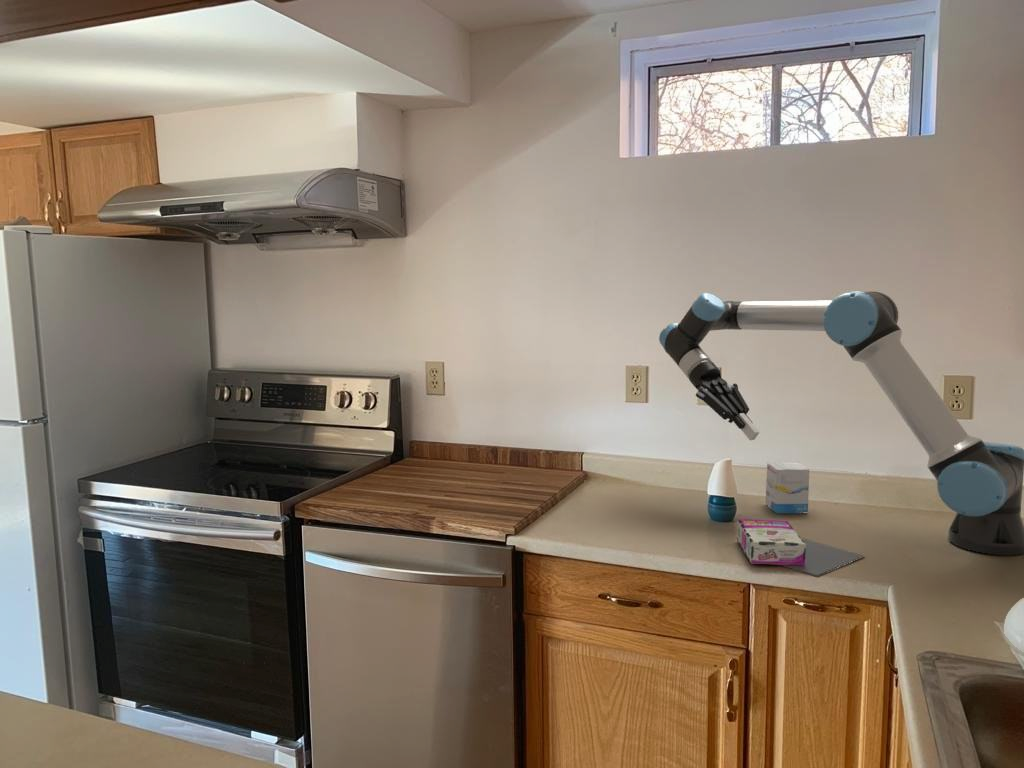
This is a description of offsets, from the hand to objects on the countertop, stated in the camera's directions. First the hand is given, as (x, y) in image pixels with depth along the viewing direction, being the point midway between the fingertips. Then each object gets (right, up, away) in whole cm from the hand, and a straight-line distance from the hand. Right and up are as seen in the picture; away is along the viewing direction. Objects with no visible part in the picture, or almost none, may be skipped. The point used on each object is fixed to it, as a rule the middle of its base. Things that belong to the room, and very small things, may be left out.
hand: (754, 436), depth 185 cm
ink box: (+13, -20, +16) cm, 29 cm away
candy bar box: (-1, -21, -10) cm, 23 cm away
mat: (+4, -24, -19) cm, 31 cm away
